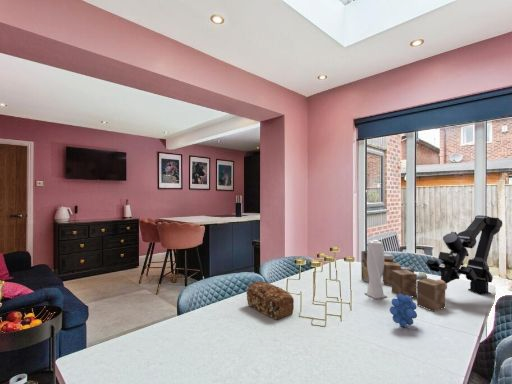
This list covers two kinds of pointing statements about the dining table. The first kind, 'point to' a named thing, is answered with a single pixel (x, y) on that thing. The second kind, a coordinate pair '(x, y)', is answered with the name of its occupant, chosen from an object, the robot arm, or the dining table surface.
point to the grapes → (403, 310)
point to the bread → (270, 300)
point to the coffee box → (364, 266)
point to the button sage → (421, 276)
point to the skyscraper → (375, 269)
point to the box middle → (404, 282)
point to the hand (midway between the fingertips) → (442, 284)
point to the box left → (389, 272)
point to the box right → (431, 294)
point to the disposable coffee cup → (388, 257)
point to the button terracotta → (444, 282)
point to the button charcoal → (408, 268)
